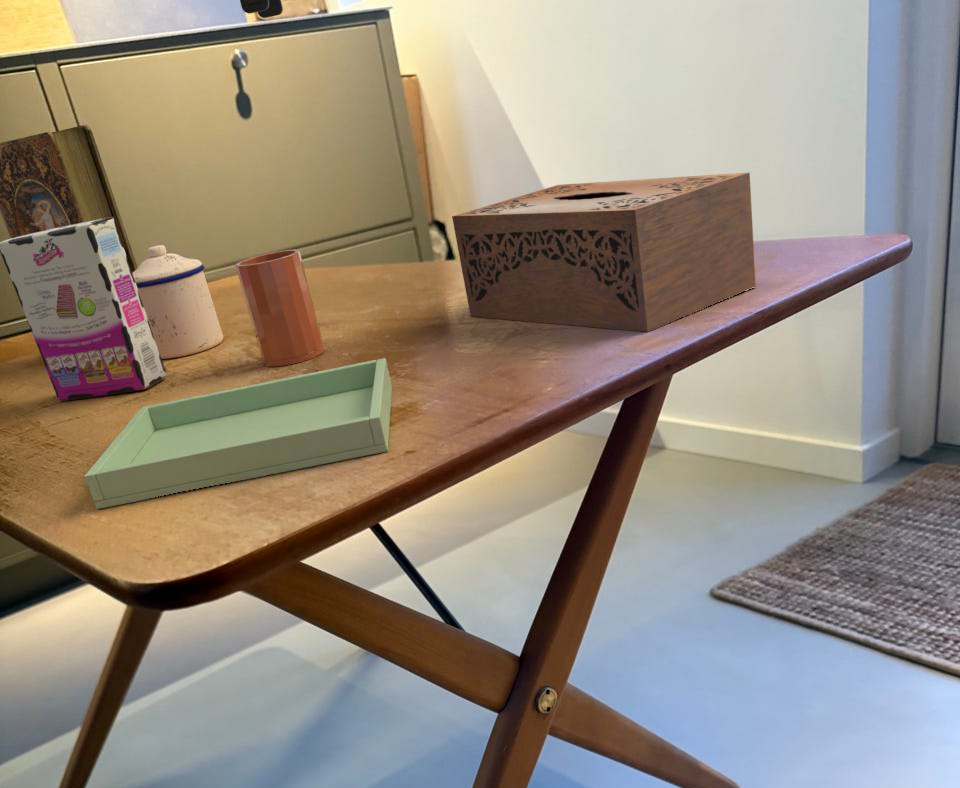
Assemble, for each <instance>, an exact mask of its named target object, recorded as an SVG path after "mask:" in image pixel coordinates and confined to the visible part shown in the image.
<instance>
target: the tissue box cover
mask: <svg viewBox="0 0 960 788" xmlns="http://www.w3.org/2000/svg"><path fill="white" fill-rule="evenodd" d="M751 189H752V188H751V173H750V172H739V173H737V172H736V173H721V174H707V175H692V176H691V175H690V176H689V175H688V176H675V177H674V176H673V177H660V178H659V177H657V178H645V179H643V178H642V179H629V180H627V179H626V180H612V181H611V180H610V181H600V182H599V181H597V182H583V183H568V184H564V183H563V184H556V185H553V186H549V187H545V188H543V189H539V190H535V191H533V192H529V193H526V194H522V195H519V196H516V197H512V198H509V199H506V200H502V201H499V202H495V203H493V204H488V205H486V206H485V205H484V206H482V207H478V208H475V209H472V210H468V211H465V212H461V213H459V214H454V215H452V216H451V218H452V224H453V229H454V236H455V240H456V245H457V251H458V256H459V261H460V266H461V273H462V277H463V283H464V289H465V293H466V299H467V304H468V305H467V306H468V311H469V315H470V317H473V318H484V319H497V320H505V321H507V320H508V321H518V322H519V321H520V322H531V323H541V324H554V325H564V326H565V325H566V326H576V327H578V326H579V327H589V328H598V329H599V328H600V329H609V330H610V329H611V330H622V331H632V332H633V331H634V332H645V333H648V332H652V331H654V330H656V329H659V328H661V327H664V326H666V325H668V324H671V323H673V322H675V320H676V321H678V320H680V319H679V318H681V317H683V318H686V317H687V315H688V316H690V315H693V314H695V313H698V312H700V311H702V310H704V308H705V309H707V308H709V307H708V306H710V305H712V306H714V305H713V304H715V303H717V302H719V301H722V300H724V299H727V298H729V297H732V296H734V295H736V294H739V293H741V292H743V291H745V290H747V289H750V288H752V287H755V286H756V287H757V285H756V264H755V263H756V262H755V245H754V230H753V227H754V226H753V209H752V190H751ZM739 295H740V294H739ZM734 297H735V296H734ZM732 298H733V297H732ZM729 299H730V298H729ZM727 300H728V299H727ZM724 301H725V300H724ZM722 302H723V301H722ZM717 304H718V303H717ZM715 305H716V304H715ZM706 307H707V308H706ZM710 307H711V306H710ZM701 309H702V310H701ZM699 310H700V311H699ZM697 311H698V312H697ZM694 312H695V313H694ZM692 313H693V314H692ZM677 319H678V320H677ZM681 319H682V318H681ZM670 322H671V323H670Z"/></svg>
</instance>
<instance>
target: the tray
mask: <svg viewBox="0 0 960 788" xmlns="http://www.w3.org/2000/svg"><path fill="white" fill-rule="evenodd" d="M392 392H393V384H392V381H391V376H390V372H389V368H388V362H387V359H386V357H382V358H378V359H373V360H367V361H363V362H358V363H353V364H348V365H344V366H338V367H333V368H328V369H325V370H324V369H323V370H319V371H313V372H308V373H303V374H299V375H293V376H289V377H283V378H279V379H274V380H270V381H265V382H260V383H254V384H250V385H245V386H240V387H235V388H230V389H225V390H224V389H223V390H220V391H216V392H215V391H214V392H210V393H205V394H201V395H195V396H190V397H186V398H181V399H176V400H169V401H166V402H161V403H160V402H159V403H156V404H152V405H151V404H150V405H146V406H141V407H140V408H139V409H138V410H137V412H136V413H135V414H134V415H133V417H132V418H131V419H130V420H129V421H128V423H127V424H126V425H125V426H124V427H123V429H122V430H121V431H120V432H119V434H118V435H117V436H116V437H115V438H114V440H113V441H111V443H110V444H109V445H108V447H107V448H106V449H105V451H104V452H103V453H102V454H101V455H100V456H99V457H98V459H97V460H96V461H95V463H94V464H93V465H92V466H91V467H90V468H89V470H88V471H87V472H86V474H84V477H83V478H84V480H85V483H86V485H87V488H88V490H89V492H90V495H91V497H92V501H93V502H94V506H95V508H96V510H101V509H105V508H111V507H115V506H121V505H125V504H131V503H137V502H141V501H147V500H151V499H156V498H161V497H165V496H164V495H166V496H170V495H169V494H171V495H174V494H173V493H176V494H178V493H177V492H181V493H183V492H182V491H186V492H189V491H188V490H191V491H194V490H193V489H196V490H200V489H199V488H202V489H205V488H204V487H207V488H210V487H209V486H212V487H215V486H214V485H217V486H221V485H220V484H222V485H225V483H227V484H230V483H231V482H232V483H236V481H237V482H241V480H242V481H246V480H251V479H256V478H261V477H266V476H271V475H276V474H281V473H287V472H292V471H296V470H301V469H307V468H312V467H316V466H322V465H327V464H331V463H335V462H336V463H337V462H341V461H346V460H351V459H356V458H361V457H366V456H371V455H377V454H382V453H386V452H389V440H390V439H389V438H390V424H391V408H392V395H393V394H392ZM158 496H159V497H158ZM160 496H161V497H160ZM155 497H156V498H155ZM150 498H151V499H150Z"/></svg>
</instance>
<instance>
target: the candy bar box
mask: <svg viewBox="0 0 960 788" xmlns="http://www.w3.org/2000/svg"><path fill="white" fill-rule="evenodd" d="M0 255H1V257H2V260H3V263H4V265H5V267H6V271H7V274H8V276H9V278H10V280H11V283H12V286H13V288H14V291H15V293H16V295H17V298H18V300H19V303H20V305H21V308H22V311H23V313H24V316H25V318H26V321H27V323H28V326H29V328H30V331H31V334H32V336H33V339H34V340H35V343H36V346H37V349H38V351H39V354H40V357H41V359H42V362H43V364H44V367H45V369H46V372H47V374H48V378H49V380H50V382H51V385H52V387H53V390H54V392H55V395H56V398H57V400H58V401H59V402H65V401H73V400H80V399H88V398H94V397H95V398H96V397H103V396H110V395H117V394H123V393H132V392H139V391H145V390H147V389H149V388H151V387H153V386H154V385H156V384H158V383H160V382H161V381H163V380H164V379H166V378H167V377H168V374H167V370H166V368H165V365H164V362H163V359H161V356H160V353H159V350H158V347H157V344H156V341H155V339H154V336H153V332H152V330H151V327H150V324H149V321H148V318H147V315H146V312H145V309H144V306H143V303H142V300H141V297H140V295H139V292H138V288H137V285H136V282H135V280H134V276H133V274H132V271H131V268H130V265H129V262H128V259H127V256H126V253H125V250H124V247H123V244H122V241H121V238H120V235H119V232H118V229H117V226H116V224H115V220H114V217H109V218H104V219H99V220H93V221H88V222H83V223H78V224H73V225H68V226H63V227H59V228H54V229H50V230H45V231H40V232H36V233H32V234H27V235H23V236H19V237H15V238H8V239H5V240H2V241H0Z"/></svg>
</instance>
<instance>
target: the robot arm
mask: <svg viewBox="0 0 960 788" xmlns="http://www.w3.org/2000/svg"><path fill="white" fill-rule="evenodd" d="M239 2H240V6H241V9H242V11H243V12H244V13H246V14H255V13H257V14H258V16H259V17H260V18H263V19H268V18H272V17H276V16H281V15H282V13H283V12H284V7H283V3H282V0H239Z"/></svg>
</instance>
